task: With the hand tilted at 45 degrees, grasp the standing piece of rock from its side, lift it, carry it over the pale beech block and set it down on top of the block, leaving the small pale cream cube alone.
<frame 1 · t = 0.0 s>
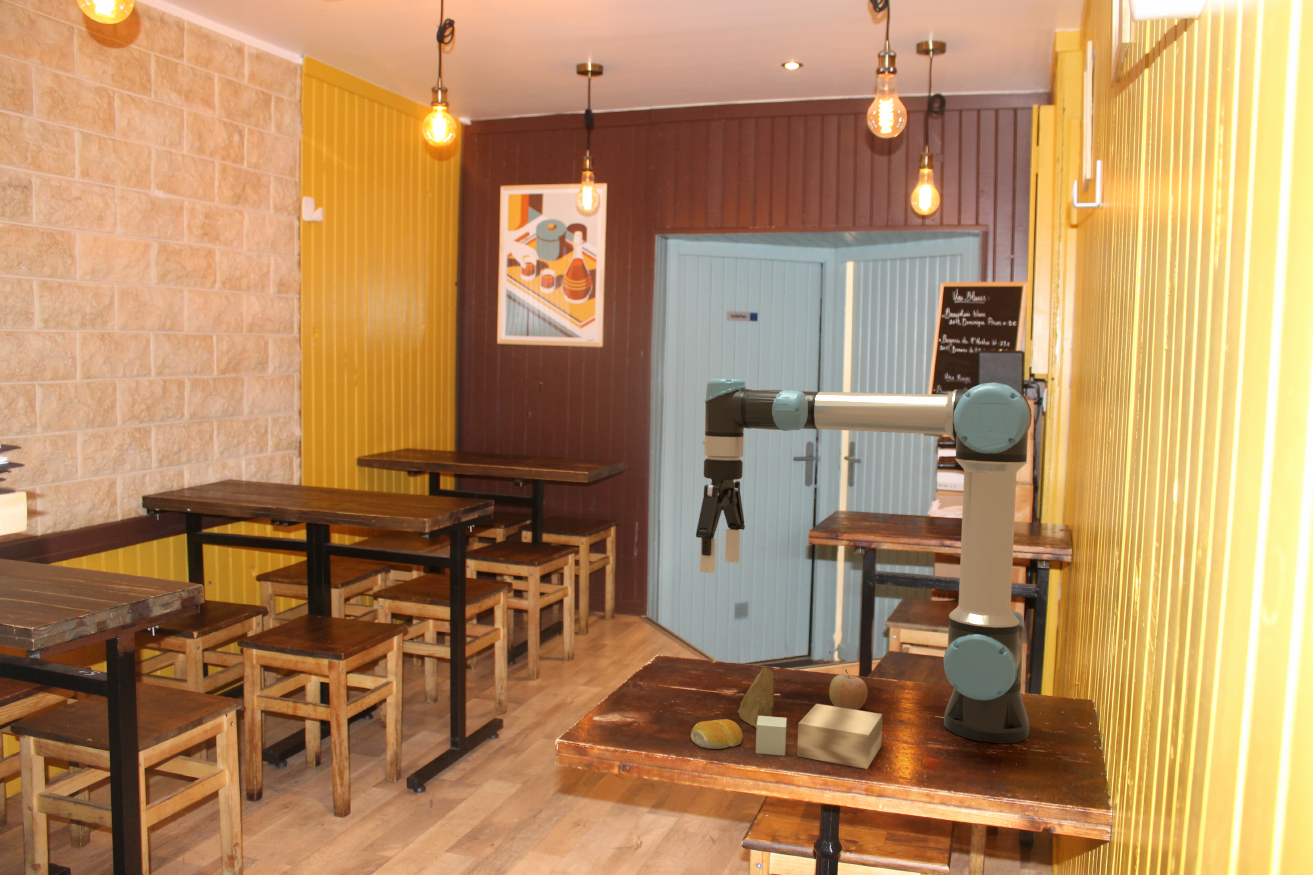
hand: (720, 567, 189), 28 cm above the table, tool pointing down, fingers open, 13 cm apart
rock: (754, 723, 183), on the table
beech block: (839, 752, 169), on the table
bread roll: (716, 743, 172), on the table
pale cream cube: (770, 749, 169), on the table
fruit: (847, 710, 192), on the table
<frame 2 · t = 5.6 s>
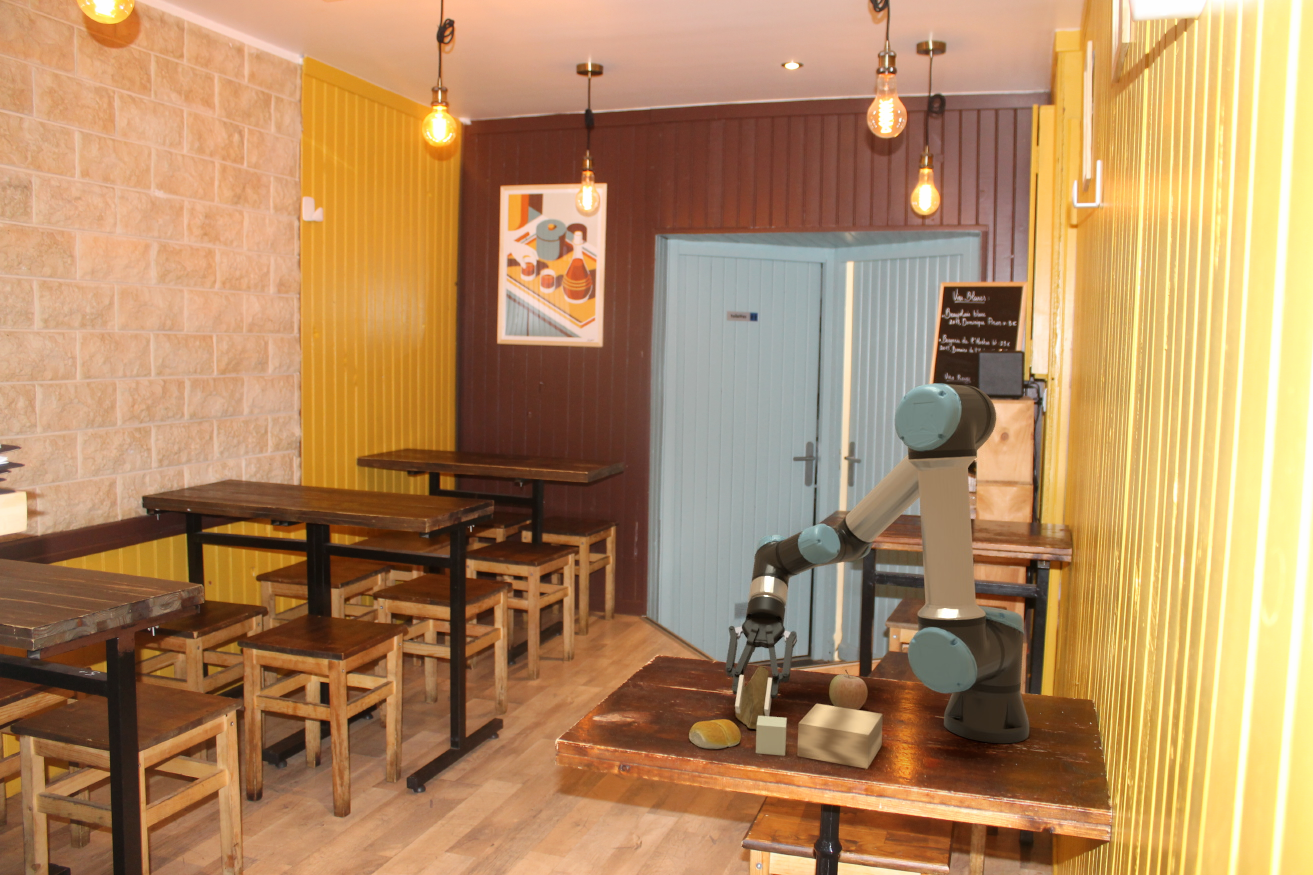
hand: (752, 710, 179), 3 cm above the table, tool tilted 45°, fingers closed on rock, 5 cm apart
rock: (748, 721, 183), on the table, touching gripper
everything else where it was.
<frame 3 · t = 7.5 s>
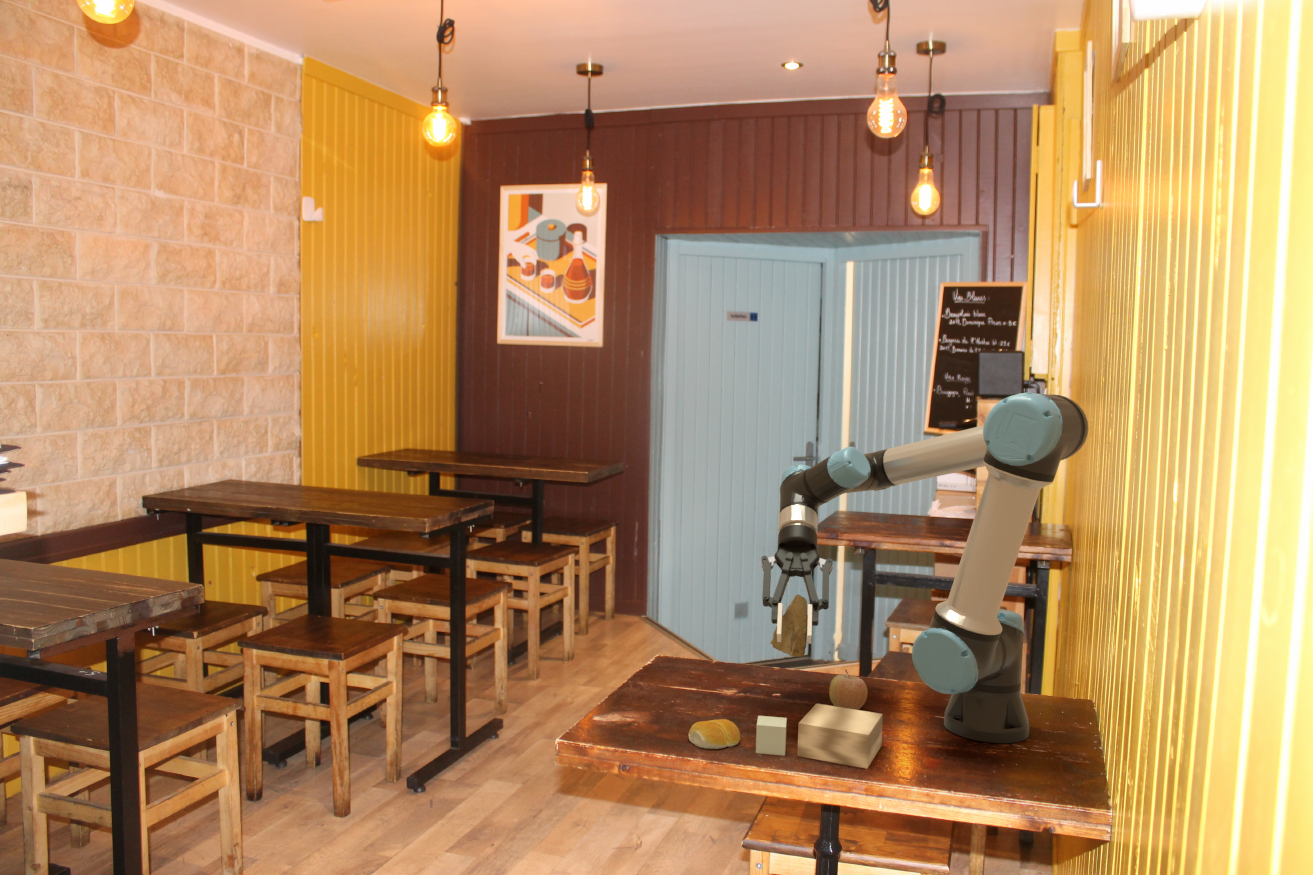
hand: (794, 638, 172), 19 cm above the table, tool tilted 45°, fingers closed on rock, 5 cm apart
rock: (787, 651, 176), point 15 cm above the table, touching gripper
everything else where it was.
when the fingers open (11 cm above the table, at t = 9.8 s): rock drops 2 cm, resting on beech block.
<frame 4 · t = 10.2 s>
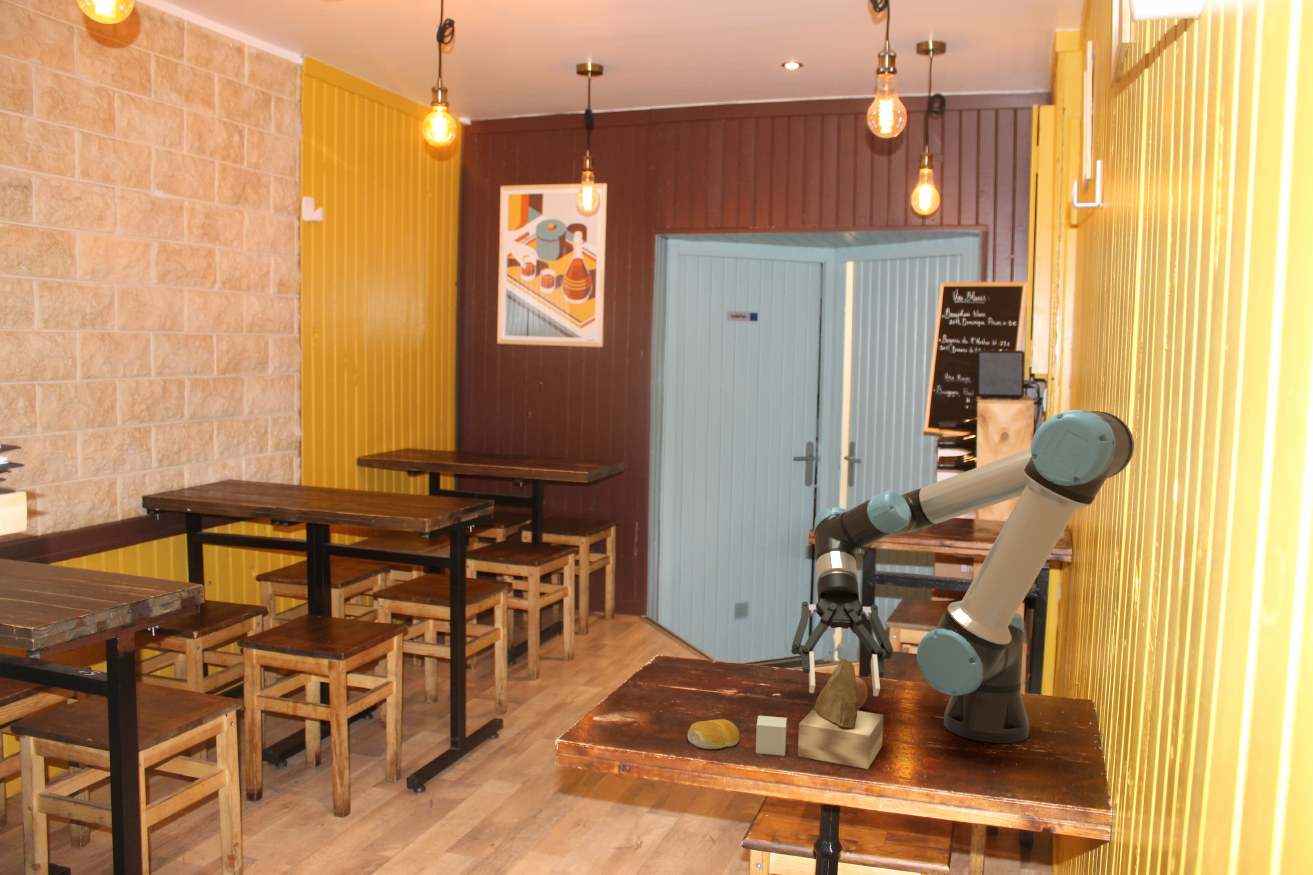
hand: (844, 690, 165), 12 cm above the table, tool tilted 45°, fingers open, 10 cm apart
rock: (834, 720, 169), point 5 cm above the table, touching beech block
beech block: (840, 752, 169), on the table, touching rock
everything else where it was.
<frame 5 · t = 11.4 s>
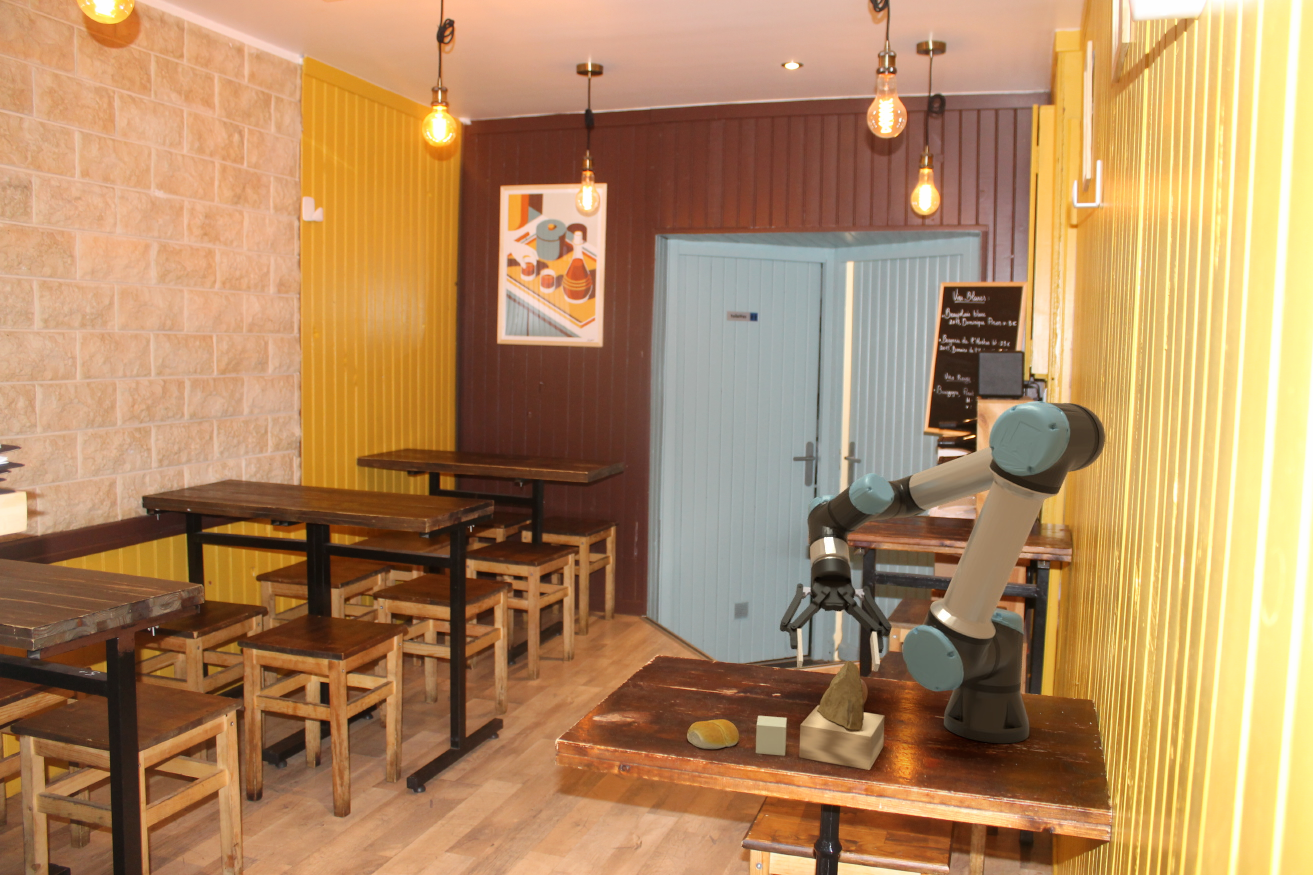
hand: (838, 666, 173), 14 cm above the table, tool tilted 45°, fingers open, 13 cm apart
rock: (840, 722, 168), point 5 cm above the table
beech block: (841, 753, 169), on the table
everything else where it was.
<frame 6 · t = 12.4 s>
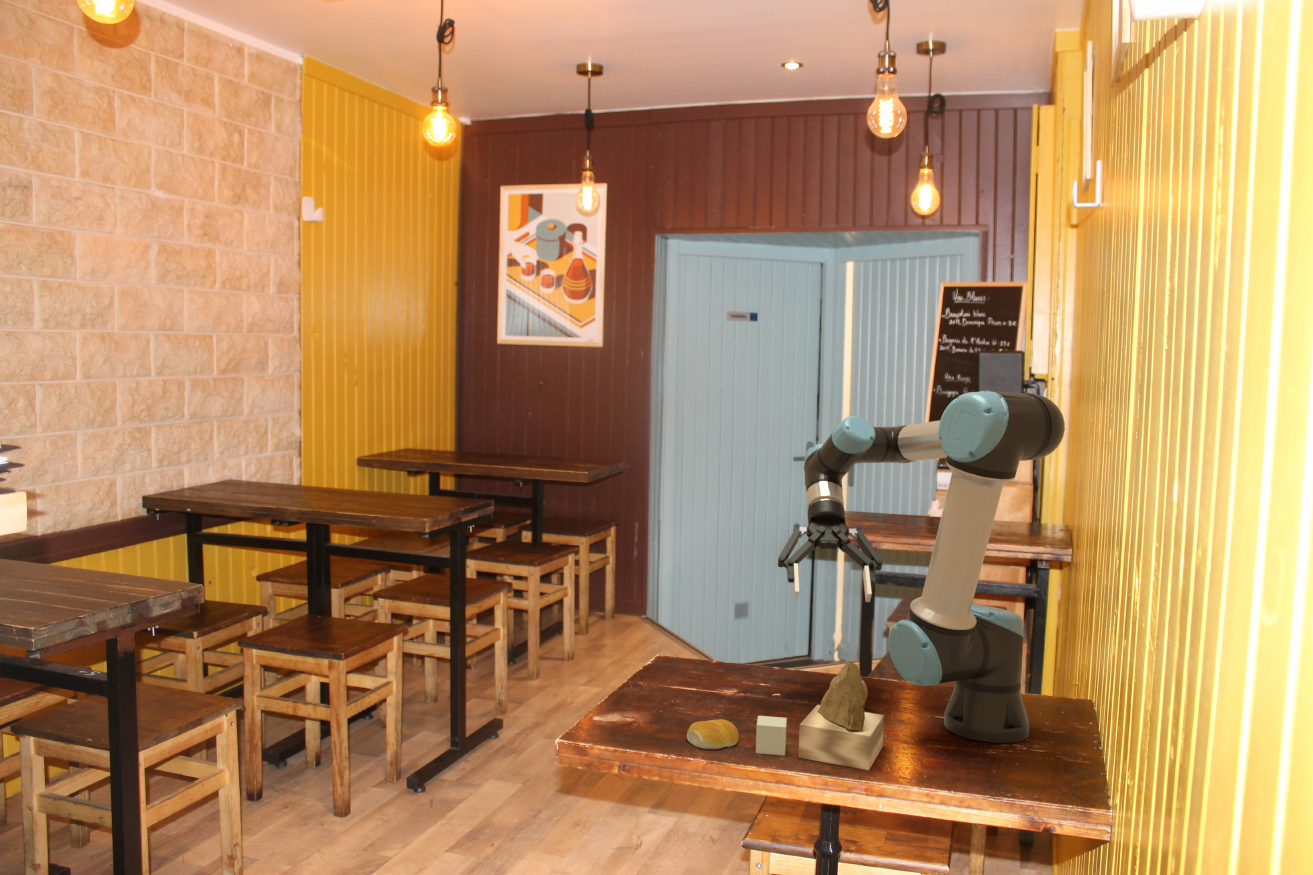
hand: (832, 596, 184), 24 cm above the table, tool tilted 45°, fingers open, 13 cm apart
rock: (840, 722, 167), point 5 cm above the table, touching beech block
beech block: (841, 753, 168), on the table, touching rock
everything else where it was.
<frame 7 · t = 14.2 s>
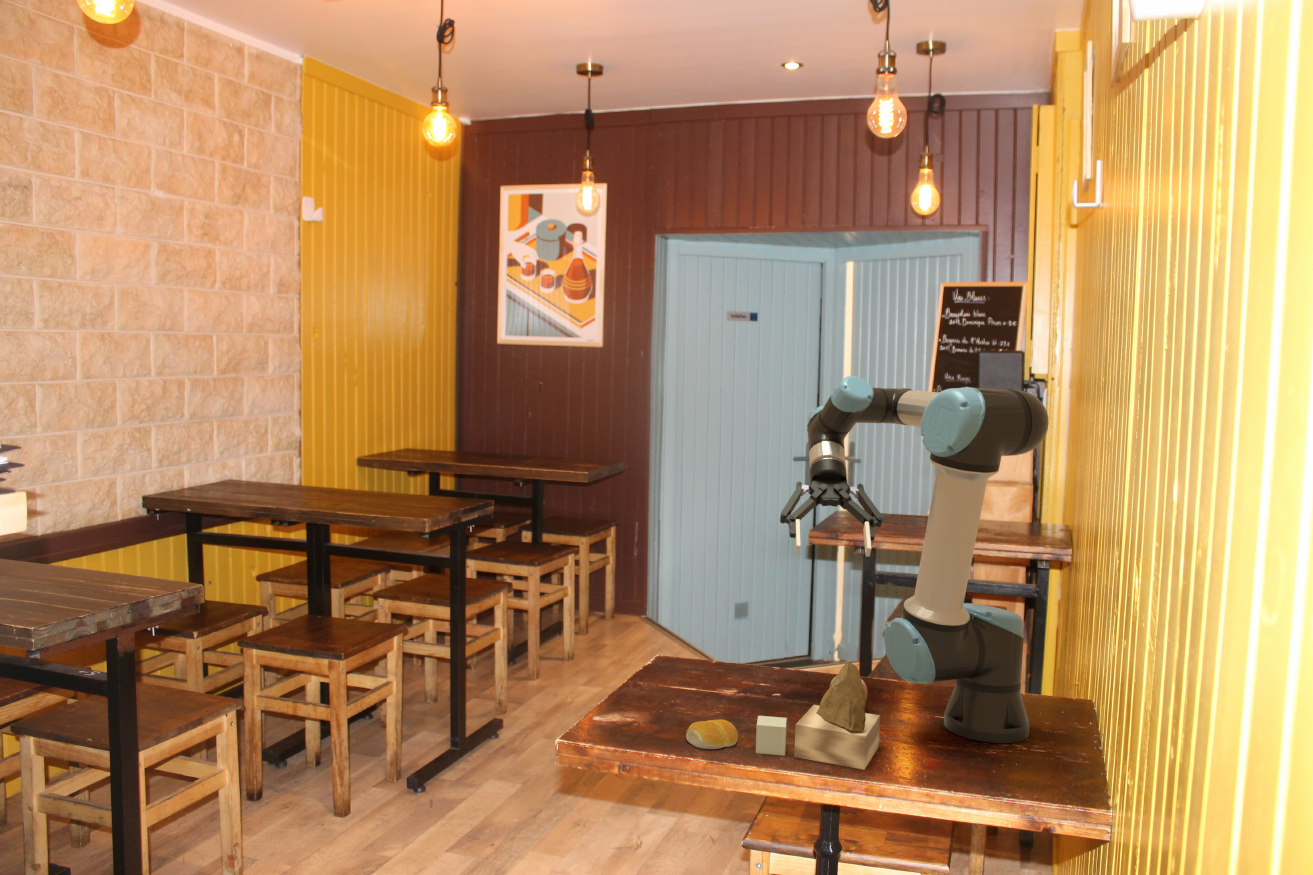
hand: (833, 551, 189), 32 cm above the table, tool tilted 45°, fingers open, 13 cm apart
nothing on the table moved.
at the end: rock inside the target area on the beech block (1.7 cm from its centre), point 5.8 cm above the beech block's base; rock touching beech block; the gripper is holding nothing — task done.
